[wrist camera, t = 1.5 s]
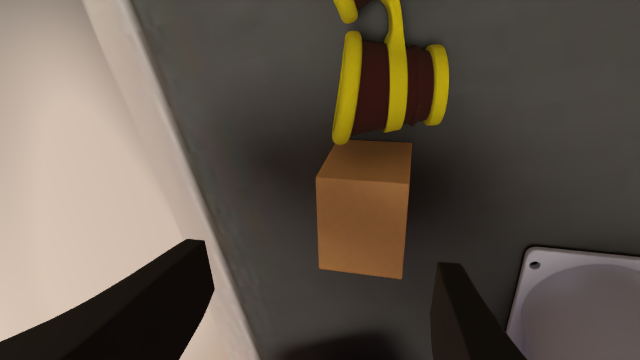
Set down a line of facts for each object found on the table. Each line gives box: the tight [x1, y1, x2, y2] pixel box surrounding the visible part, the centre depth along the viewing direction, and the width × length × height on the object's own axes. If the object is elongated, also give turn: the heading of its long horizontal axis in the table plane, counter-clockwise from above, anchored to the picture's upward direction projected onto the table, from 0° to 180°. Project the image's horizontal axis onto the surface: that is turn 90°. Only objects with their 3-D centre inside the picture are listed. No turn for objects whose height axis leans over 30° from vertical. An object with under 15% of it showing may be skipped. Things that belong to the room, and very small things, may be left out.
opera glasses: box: [332, 0, 449, 145], centre depth 16 cm, size 10×5×5 cm, turn 12°
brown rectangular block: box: [316, 140, 412, 279], centre depth 19 cm, size 5×4×5 cm
